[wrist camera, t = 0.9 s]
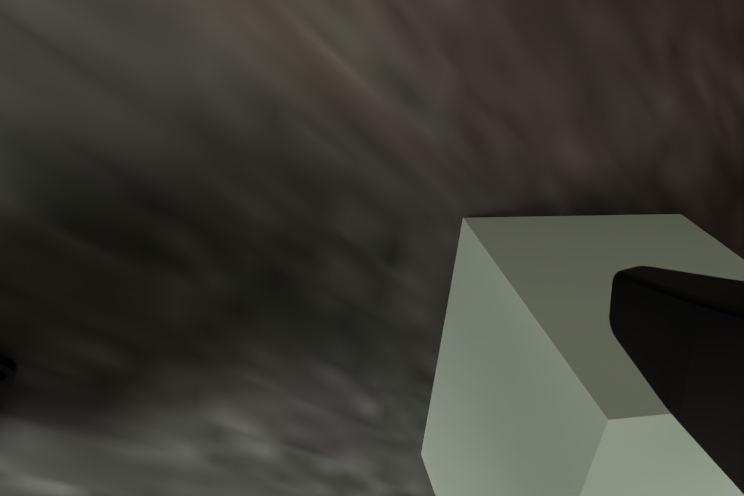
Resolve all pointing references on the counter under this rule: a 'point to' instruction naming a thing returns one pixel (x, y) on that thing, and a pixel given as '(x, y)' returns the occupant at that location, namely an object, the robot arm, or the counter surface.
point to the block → (560, 363)
